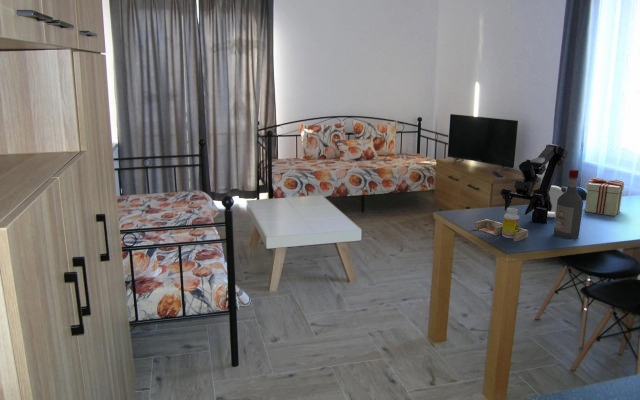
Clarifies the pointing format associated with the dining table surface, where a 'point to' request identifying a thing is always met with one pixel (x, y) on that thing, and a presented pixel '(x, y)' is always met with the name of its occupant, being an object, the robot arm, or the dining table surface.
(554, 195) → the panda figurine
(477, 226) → the rack
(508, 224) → the supplement bottle
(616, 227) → the dining table surface
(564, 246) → the dining table surface
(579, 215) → the liquor
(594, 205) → the gift box
